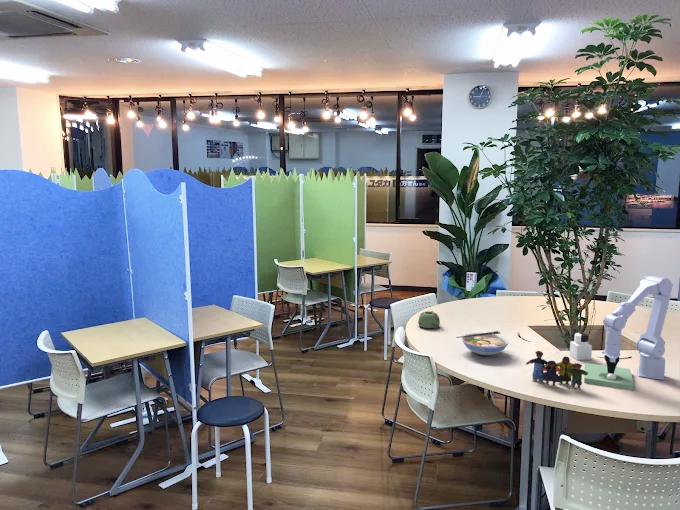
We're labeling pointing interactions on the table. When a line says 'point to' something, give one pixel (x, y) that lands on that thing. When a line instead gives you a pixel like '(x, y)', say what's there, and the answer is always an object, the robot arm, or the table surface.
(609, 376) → the ball
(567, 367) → the doll family
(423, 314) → the green dome
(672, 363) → the table surface
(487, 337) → the ramen bowl
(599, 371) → the deck
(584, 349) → the medicine bottle
